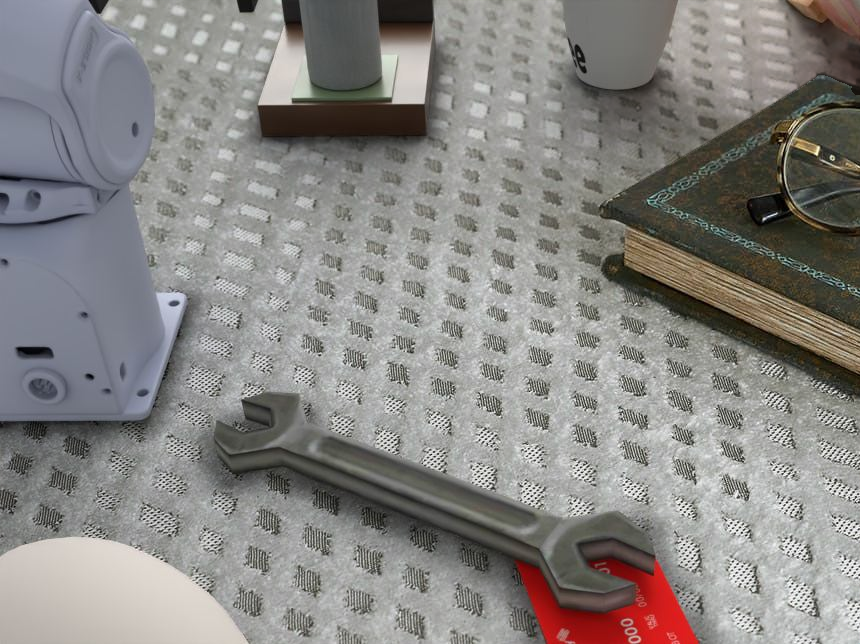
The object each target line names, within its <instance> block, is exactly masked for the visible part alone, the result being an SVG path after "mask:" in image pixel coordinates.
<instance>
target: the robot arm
mask: <svg viewBox="0 0 860 644" xmlns="http://www.w3.org/2000/svg"><path fill="white" fill-rule="evenodd" d="M109 1H110V0H0V422H88V421H89V422H116V421H117V422H121V421H122V422H124V421H125V422H127V421H132V422H134V421H135V422H136V421H137V422H138V421H143V420H145V419H147V418H148V417H149V416H150V415H151V413H152V410H153V408H154V404H155V402H156V398H157V396H158V393H159V389H160V387H161V383H162V380H163V378H164V375H165V371H166V369H167V366H168V363H169V359H170V357H171V355H172V351H173V348H174V345H175V342H176V340H177V336H178V334H179V330H180V328H181V324H182V321H183V318H184V315H185V312H186V309H187V306H188V298H187V295H186V294H185V293H182V292H157V291H156V287H155V283H154V279H153V274H152V271H151V267H150V263H149V259H148V255H147V251H146V246H145V242H144V238H143V236H142V235H143V234H142V231H141V227H140V222H139V219H138V215H137V212H136V207H135V203H134V200H133V199H134V198H133V196H132V191H131V187H130V183H131V182H132V181H133V180H135V177H136V176H137V174H138V173H139V171H140V170H141V169H142V167H143V166H144V164H145V162H146V160H147V158H148V156H149V153H150V150H151V147H152V144H153V139H154V131H155V122H156V115H155V114H156V106H155V105H156V104H155V95H154V94H155V93H154V88H153V83H152V79H151V75H150V72H149V69H148V66H147V64H146V61H145V60H144V59H143V56H142V55H141V53H140V52H139V50H138V48H137V47H136V44H135V42H133V40H132V39H131V37H129V35H128V34H127V33H126V32H124V31H123V30H122V29H121V28H118V27H116V26H114V25H111V24H109V23H107V22H106V21H105V20H103V19H102V18H101V17H100V16H99V15H101V14H102V13H103V11H104V9H105V8H106V6H107V5H108V3H109ZM258 2H259V0H236V4H237V8H238V11H239V14H245V13H246V14H247V13H249V14H250V13H254V12H255V10H256V7H257V5H258Z"/></svg>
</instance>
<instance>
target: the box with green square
mask: <svg viewBox="0 0 860 644" xmlns="http://www.w3.org/2000/svg"><path fill="white" fill-rule="evenodd" d="M280 1H281V7H282V9H281V10H282V15H283V16H282V17H283V22H284V24H283V27H282V29H281V33H280V36H279V39H278V42H277V44H276V47H275V51H274V54H273V56H272V60H271V62H270V66H269V69H268V72H267V75H266V78H265V81H264V84H263V87H262V91H261V93H260V96H259V99H258V102H257V112H258V119H259V126H260V131H261V136H262V137H343V136H344V137H345V136H350V137H351V136H355V137H356V136H427V133H428V123H429V113H430V106H431V104H430V103H431V95H432V86H433V85H432V84H433V75H434V66H435V57H436V46H437V43H436V42H437V41H436V40H437V39H436V22H435V21H436V20H435V3H434V2H435V1H434V0H377V7H378V20H379V32H380V45H381V57H382V75H381V77H380V78H379V80H377V81H376V82H375V83H373V84H371V85H369V86H366V87H363V88H359V89H355V90H344V91H343V90H330V89H325V88H322V87H319V86H317V85H315V84H314V83H313V82H312V81H311V80H310V78H309V73H308V67H307V59H306V51H305V43H304V35H303V27H302V19H301V11H300V3H299V0H280Z"/></svg>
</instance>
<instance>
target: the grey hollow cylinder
mask: <svg viewBox="0 0 860 644" xmlns="http://www.w3.org/2000/svg"><path fill="white" fill-rule="evenodd" d="M299 3H300V11H301V19H302V27H303V35H304V43H305V51H306V59H307V67H308V73H309V78H310V80H311V81H312V82H313V83H314V84H315V85H317V86H319V87H322V88H325V89H330V90H343V91H344V90H355V89H359V88H363V87H366V86H369V85H371V84H373V83H375V82H376V81H377V80H379V78H380V77H381V75H382V57H381V45H380V32H379V20H378V7H377V0H299Z"/></svg>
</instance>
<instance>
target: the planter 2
mask: <svg viewBox="0 0 860 644" xmlns="http://www.w3.org/2000/svg"><path fill="white" fill-rule="evenodd" d="M786 1H787V2H788V3H789V4H790V5H792V6H793V7H794V8H795V9H796V10H798V11H799V12H800V13H801V14H802V15H803V16H804V17H807V18H810V19H812V20H815V21H816V22H819V23H820V24H821V23H824V22H825V21H826V20H827V19H828V20H829V21H830V22H831V23H832V24H833V25H835V27H836V28H838V29H840V30H841V31H843V32H845V33H846V34H847V35H849V36H850V37H851V38H853V39H855V40H857V41H859V42H860V0H786Z"/></svg>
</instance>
